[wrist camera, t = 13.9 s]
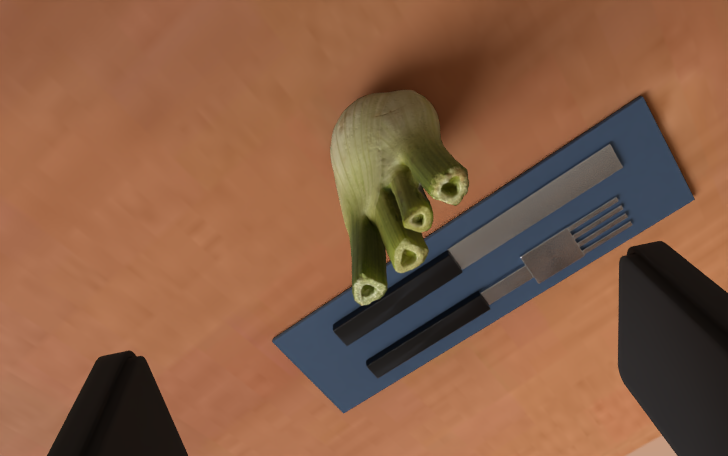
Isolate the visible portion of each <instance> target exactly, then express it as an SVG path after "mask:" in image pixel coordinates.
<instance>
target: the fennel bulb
mask: <svg viewBox="0 0 728 456" xmlns="http://www.w3.org/2000/svg"><path fill="white" fill-rule="evenodd" d="M330 153H331V162H332V167H333V171H334V176H335V182H336V188H337V191H338V196H339V200H340V205H341V209H342V214H343V218H344V222H345V226H346V228H347V231H348V234H349V237H350V245H351V256H352V294H353V297H354V300H355V301H356V302H357V303H358V304H360V305H361V306H363V305H368V304H371V302H373V301H375V300H377V299H381V297H383V296H384V294H385V293H386V291H387V289H388V288H387V287H388V284H387V273H386V269H387V268H386V252H385V250H386V251H387V254H388V256H389V258H390V260H391V262H392V265H393V267H394V269H395V270H396V271H397V272H398V273H404V272H407V271H409V270H413V269H414V268H416V267H418V266H420V264H422V263H423V262H424V261H425V259H426V257H427V255H428V253H429V250H428V247H427V245H426V242H425V241H424V239H423V237H422V233H421V232H424V231H428V230H429V229H430V228H431V226H432V222H433V211H432V207H431V204H430V202H429V200H428V198H427V197H426V195H425V192H424V190H423V188H424V189H425V190H426V191H427V192H428V194H429V195H430V196H432V198H434V199H435V200H441V201H443V202H445V203H448V204H452V205H455V206H456V205H458V204H459V203H460V202H461V200H462V199H463V197H464V195H466V194H467V192H468V187H469V180H468V172H467V169H466V168H465V167H463V166H462V165H461V164H460V163H459V162H458V161H456V160H455V159H454V158H453V156H452V155H451V154H450V153H449V152H448V151H447V150H446V148H445V147H444V146H443V144H442V141H441V136H440V123H439V118H438V115H437V113H436V111H435V109H434V107H433V106H432V104H431V103H430V102H429V101H428V100H427V99H426V98H425V97H424V96H422V95H420V94H418V93H416V92H415V91H413V90H398V91H393V92H385V93H384V92H383V93H373V94H369V95H366V96H363V97H361V98H359V99H357V100H356V101H355V102H354V103H352V104H351V105H350V106H349V107H348V108H347V109H345V111H344V112H343V113H342V114H341V116H340V118H339V120H338V122H337V123H336V125H335V128H334V130H333V134H332V141H331V148H330Z"/></svg>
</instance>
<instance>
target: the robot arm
mask: <svg viewBox="0 0 728 456" xmlns="http://www.w3.org/2000/svg"><path fill="white" fill-rule="evenodd" d="M618 368H619V373H620V376H621V378H622V380H623V382H624V384H625V385H626V387H627V388H628V390H629V391H630V392H631V394H632V395H633V396H634V398H635V399H636V400H637V402H638V403H639V404H640V406H641V407H642V408H643V410H644V411H645V412H646V414H647V415H648V417H649V418H650V419H651V421H652V422H653V423H654V425H655V426H656V427H657V429H658V430H659V431H660V433H661V434H662V435H663V437H664V438H665V439H666V441H667V442H668V443H669V444H670V446H671V448H672V449H673V450H674V451H675V453H676V454H677V455H678V456H728V293H727V292H726V291H724V290H723V289H722V288H721V287H719V286H718V285H717V284H716V283H714V282H713V281H712V280H711V279H709V278H708V277H707V276H706V275H704V274H703V273H702V272H701V271H699V270H698V269H697V268H696V267H694V266H693V265H692V264H691V263H690V262H688V261H687V260H686V259H685V258H683V257H682V256H681V255H680V254H678V253H677V252H676V251H675V250H673V249H672V248H671V247H670V246H668V245H667V244H666V243H664V242H662V241H657V242H652V243H647V244H642V245H638V246H633V247H630V248H629V249H628V252H627V255H626V256H622V257H621V259H620V262H619V327H618ZM47 456H188V454H187V452H186V449H185V447H184V445H183V443H182V440H181V438H180V436H179V434H178V431H177V429H176V427H175V424H174V422H173V420H172V418H171V415H170V413H169V411H168V409H167V406H166V404H165V402H164V399H163V397H162V395H161V393H160V390H159V388H158V386H157V384H156V381H155V379H154V377H153V374H152V372H151V370H150V368H149V365H148V363H147V361H146V359H145V358H144V357H143V356H138V357H136V355H135V354H134V353H133V352H132V351H125V352H120V353H115V354H110V355H106V356H101V357H99V358H98V359H97V361H96V362H95V364H94V366H93V368H92V370H91V372H90V374H89V376H88V378H87V380H86V382H85V384H84V385H83V387H82V389H81V391H80V393H79V395H78V397H77V399H76V401H75V403H74V405H73V407H72V409H71V411H70V412H69V414H68V416H67V418H66V420H65V422H64V424H63V426H62V428H61V430H60V432H59V434H58V436H57V438H56V439H55V441H54V443H53V445H52V447H51V449H50V451H49V453H48V455H47Z"/></svg>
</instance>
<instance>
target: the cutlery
mask: <svg viewBox="0 0 728 456" xmlns="http://www.w3.org/2000/svg"><path fill="white" fill-rule="evenodd" d="M621 168H623V166H622V165H621V163H620V161H619V159H618V157H617V156H616V154H615V152H614V150H613V148H612V146H611V145H610V144H609V143H607V144H606V145H604V146H603V147H601V148H600V149H598V150H596V151H595V152H593V153H592V154H590V155H589V156H587V157H586V158H584V159H583V160H581V161H580V162H578V163H577V164H575V165H573V166H572V167H570V168H569V169H567V170H566V171H564V172H563V173H561V174H560V175H558V176H557V177H555V178H553V179H552V180H550V181H549V182H547V183H546V184H544V185H543V186H541V187H540V188H538V189H537V190H535V191H534V192H532V193H530V194H529V195H527V196H526V197H524V198H523V199H521V200H520V201H518V202H517V203H515V204H514V205H512V206H511V207H509V208H507V209H506V210H504V211H503V212H501V213H500V214H498V215H497V216H495V217H494V218H492V219H491V220H489V221H488V222H486V223H484V224H483V225H481V226H480V227H478V228H477V229H475V230H474V231H472V232H471V233H469V234H468V235H466V236H465V237H463V238H461V239H460V240H458V241H457V242H455V243H454V244H452V245H451V246H449V247H448V248H447V251H445V252H443V253H442V254H440V255H439V256H437V257H436V258H434V259H433V260H431V261H430V262H428V263H427V264H425V265H424V266H422V267H420V268H419V269H417V270H416V271H414V272H413V273H411V274H410V275H408V276H407V277H405V278H404V279H402V280H400V281H399V282H397V283H396V284H394V285H393V286H391V287H390V288H388V289H387V291H386V293H385V294H384V296H383V297H381V299H377V300H375V301H373V302H371V304H368V305H363V306H361V307H359V308H357V309H356V310H354V311H353V312H351V313H350V314H348V315H347V316H345V317H344V318H342V319H341V320H339V321H337V322H336V323H334V324H333V332H334V333H335V334H336V335H337V336H338V337H339V338H340V339H341V341H342V342H343V343H344V344H345V345H346V346H348V345H350V344H352V343H353V342H355V341H356V340H358V339H359V338H361V337H363V336H364V335H366V334H367V333H369V332H370V331H372V330H374V329H375V328H377V327H378V326H380V325H381V324H383V323H385V322H386V321H388V320H389V319H391V318H392V317H394V316H396V315H397V314H399V313H400V312H402V311H403V310H405V309H407V308H408V307H410V306H411V305H413V304H414V303H416V302H418V301H419V300H421V299H422V298H424V297H425V296H427V295H429V294H430V293H432V292H433V291H435V290H436V289H438V288H439V287H441V286H443V285H444V284H446V283H447V282H449V281H450V280H452V279H454V278H455V277H457V276H458V275H460V274H461V273H462V270H463V269H465V268H466V267H468V266H469V265H471V264H473V263H474V262H476V261H477V260H479V259H480V258H482V257H484V256H485V255H487V254H488V253H490V252H491V251H493V250H494V249H496V248H498V247H499V246H501V245H502V244H504V243H505V242H507V241H509V240H510V239H512V238H513V237H515V236H516V235H518V234H520V233H521V232H523V231H524V230H526V229H527V228H529V227H530V226H532V225H534V224H535V223H537V222H538V221H540V220H541V219H543V218H545V217H546V216H548V215H549V214H551V213H552V212H554V211H556V210H557V209H559V208H560V207H562V206H563V205H565V204H567V203H568V202H570V201H571V200H573V199H574V198H576V197H577V196H579V195H581V194H582V193H584V192H585V191H587V190H588V189H590V188H592V187H593V186H595V185H596V184H598V183H599V182H601V181H603V180H604V179H606V178H607V177H609V176H610V175H612V174H613V173H615V172H617V171H618V170H620V169H621ZM618 201H619V200H618V199H617V197H616V196H614V197H612V198H611V199H609V200H608V201H606V202H605V203H603V204H601V205H600V206H598V207H597V208H595V209H593V210H592V211H590V212H589V213H587V214H585V215H584V216H582V217H581V218H579V219H578V220H576V221H574V222H573V223H571V224H570V225H568V226H567V227H566V226H565V227H563V228H562V229H560V230H559V231H557V232H555V233H554V234H552V235H551V236H549V237H548V238H546V239H544V240H543V241H541V242H540V243H538V244H536V245H535V246H533V247H532V248H530V249H529V250H527V251H525V252H524V253H522V254H521V255H519V256H520V258H521V259H522V261H523V262H524V263H523V264H522V265H520V266H519V267H517V268H515V269H514V270H512V271H511V272H509V273H507V274H506V275H504V276H503V277H501V278H499V279H498V280H496V281H495V282H493V283H491V284H490V285H488V286H487V287H485V288H483V289H482V290H480V291H476V292H475V293H473V294H472V295H470V296H468V297H467V298H465V299H464V300H462V301H460V302H459V303H457V304H456V305H454V306H452V307H451V308H449V309H448V310H446V311H444V312H443V313H441V314H440V315H438V316H436V317H435V318H433V319H432V320H430V321H428V322H427V323H425V324H424V325H422V326H420V327H419V328H417V329H416V330H414V331H412V332H411V333H409V334H408V335H406V336H404V337H403V338H401V339H400V340H398V341H396V342H395V343H393V344H392V345H390V346H389V347H387V348H385V349H384V350H382V351H381V352H379V353H377V354H376V355H374V356H373V357H371V358H369V359H368V360H366V366H367V368H368V369H369V370H370V371H371V372H372V373H373V374H374V375H375V376H376V377H377V378H380V377H381V376H383V375H385V374H386V373H388V372H389V371H391V370H393V369H394V368H396V367H398V366H399V365H401V364H402V363H404V362H406V361H407V360H409V359H411V358H412V357H414V356H415V355H417V354H419V353H420V352H422V351H424V350H425V349H427V348H428V347H430V346H432V345H433V344H435V343H437V342H438V341H440V340H441V339H443V338H445V337H446V336H448V335H450V334H451V333H453V332H454V331H456V330H458V329H459V328H461V327H463V326H464V325H466V324H467V323H469V322H471V321H472V320H474V319H476V318H477V317H479V316H480V315H482V314H484V313H485V312H487V311H489V310H490V306H489V305H490V304H492V303H493V302H495V301H497V300H498V299H500V298H501V297H503V296H505V295H506V294H508V293H510V292H511V291H513V290H514V289H516V288H518V287H519V286H521V285H522V284H524V283H526V282H527V281H529V280H531V279H532V278H535V280H536V281H537V283H538V284H540V283H541V282H543V281H545V280H546V279H548V278H550V277H551V276H553V275H554V274H556V273H558V272H559V271H561V270H563V269H564V268H566V267H567V266H569V265H571V264H572V263H574V262H576V261H577V260H579V259H580V258H582V257H584V256H585V254H586V253H588V252H590V251H591V250H593V249H595V248H596V247H598V246H600V245H601V244H603V243H604V242H606V241H608V240H609V239H611V238H613V237H614V236H616V235H617V234H619V233H621V232H622V231H624V230H626V229H627V228H629V227H630V226H632V223H631V221H629V220H628V221H627V222H625V223H623V224H622V225H620V226H618V227H617V228H615V229H614V230H612V231H610V232H609V233H607V234H605V235H604V236H602V237H601V238H599V239H597V240H596V241H594V242H592V243H591V244H589V245H588V246H586V247H584V248H583V249H581V248H580V247H581V246H582V245H584V244H586V243H587V242H589V241H590V240H592V239H594V238H595V237H597V236H599V235H600V234H602V233H603V232H605V231H607V230H608V229H610V228H612V227H613V226H615V225H616V224H618V223H620V222H621V221H623V220H624V219H626V218H628V216H627V214H626V213H625V212H624V213H622V214H620V215H619V216H617V217H616V218H614V219H612V220H611V221H609V222H608V223H606V224H604V225H603V226H601V227H600V228H598V229H596V230H595V231H593V232H591V233H590V234H588V235H587V236H585V237H583V238H582V239H580V240H579V241H577V242H576V240H575V239H576V238H578V237H580V236H581V235H583V234H584V233H586V232H588V231H589V230H591V229H593V228H594V227H596V226H597V225H599V224H601V223H602V222H604V221H605V220H607V219H609V218H610V217H612V216H613V215H615V214H617V213H618V212H620V211H621V210H623V207H622V206H621V205H620V204H619V205H617V206H616V207H614V208H613V209H611V210H609V211H608V212H606V213H605V214H603V215H601V216H600V217H598V218H597V219H595V220H593V221H592V222H590V223H589V224H587V225H585V226H584V227H582V228H581V229H579V230H577V231H576V232H574V233H573V234H571V232H570V231H572V230H573V229H575V228H577V227H578V226H580V225H581V224H583V223H585V222H586V221H588V220H589V219H591V218H593V217H594V216H596V215H597V214H599V213H601V212H602V211H604V210H605V209H607V208H609V207H610V206H612V205H613V204H615V203H617V202H618Z"/></svg>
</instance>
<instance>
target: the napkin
mask: <svg viewBox="0 0 728 456" xmlns="http://www.w3.org/2000/svg"><path fill="white" fill-rule="evenodd" d="M607 143H609V144H610V145H611V146H612V148H613V150H614V152H615V154H616V156H617V157H618V159H619V161H620V163H621V165H622V166H623V168H621V169H620V170H618V171H617V172H615V173H613V174H612V175H610V176H609V177H607V178H606V179H604V180H603V181H601V182H599V183H598V184H596V185H595V186H593V187H592V188H590V189H588V190H587V191H585V192H584V193H582V194H581V195H579V196H577V197H576V198H574V199H573V200H571V201H570V202H568V203H567V204H565V205H563V206H562V207H560V208H559V209H557V210H556V211H554V212H552V213H551V214H549V215H548V216H546V217H545V218H543V219H541V220H540V221H538V222H537V223H535V224H534V225H532V226H530V227H529V228H527V229H526V230H524V231H523V232H521V233H520V234H518V235H516V236H515V237H513V238H512V239H510V240H509V241H507V242H505V243H504V244H502V245H501V246H499V247H498V248H496V249H494V250H493V251H491V252H490V253H488V254H487V255H485V256H484V257H482V258H480V259H479V260H477V261H476V262H474V263H473V264H471V265H469V266H468V267H466V268H465V269H463V270H462V273H461V274H460V275H458V276H457V277H455V278H454V279H452V280H450V281H449V282H447V283H446V284H444V285H443V286H441V287H439V288H438V289H436V290H435V291H433V292H432V293H430V294H429V295H427V296H425V297H424V298H422V299H421V300H419V301H418V302H416V303H414V304H413V305H411V306H410V307H408V308H407V309H405V310H403V311H402V312H400V313H399V314H397V315H396V316H394V317H392V318H391V319H389V320H388V321H386V322H385V323H383V324H381V325H380V326H378V327H377V328H375V329H374V330H372V331H370V332H369V333H367V334H366V335H364V336H363V337H361V338H359V339H358V340H356V341H355V342H353V343H352V344H350V345H348V346H346V345H345V344H344V343H343V342H342V341H341V339H340V338H339V337H338V336H337V335H336V334H335V333H334V332H333V324H334V323H336V322H337V321H339V320H341V319H342V318H344V317H345V316H347V315H348V314H350V313H351V312H353V311H354V310H356V309H357V308H359V307H361V305H360V304H358V303H357V302H356V301H355V300H354V297H353V294H352V287H351V288H349V289H347V290H346V291H344V292H343V293H341V294H340V295H338V296H337V297H335V298H334V299H332V300H331V301H329V302H328V303H326V304H325V305H323V306H322V307H320V308H319V309H317V310H316V311H314V312H313V313H311V314H310V315H308V316H307V317H305V318H304V319H302V320H301V321H299V322H298V323H296V324H295V325H293V326H292V327H290V328H289V329H287V330H286V331H284V332H283V333H281V334H279V335H278V336H276V337H275V338H273V341H272V342H273V343H274V344H275V345H276V346H277V347H278V348H279V349H280V350H281V351H282V352H283V353H284V354H285V355H286V356H287V357H288V358H289V359H290V360H291V361H292V362H293V363H294V364H295V365H296V366H297V367H298V368H299V369H300V370H301V371H302V372H303V373H304V374H305V375H306V376H307V377H308V378H309V379H310V380H311V381H312V382H313V383H314V384H315V385H316V386H317V387H318V388H319V389H320V390H321V391H322V392H323V393H324V394H325V395H326V396H327V397H328V398H329V399H330V400H331V401H332V402H333V403H334V404H335V405H336V406H337V407H338V408H339V409H340V410H341V411H342V412H343V413H345V412H347V411H348V410H350V409H352V408H353V407H355V406H357V405H358V404H360V403H361V402H363V401H365V400H366V399H368V398H370V397H371V396H373V395H375V394H376V393H378V392H380V391H381V390H383V389H384V388H386V387H388V386H389V385H391V384H393V383H394V382H396V381H398V380H399V379H401V378H403V377H404V376H406V375H407V374H409V373H411V372H412V371H414V370H416V369H417V368H419V367H421V366H422V365H424V364H426V363H427V362H429V361H430V360H432V359H434V358H435V357H437V356H439V355H440V354H442V353H444V352H445V351H447V350H448V349H450V348H452V347H453V346H455V345H457V344H458V343H460V342H462V341H463V340H465V339H467V338H468V337H470V336H471V335H473V334H475V333H476V332H478V331H480V330H481V329H483V328H485V327H486V326H488V325H490V324H491V323H493V322H494V321H496V320H498V319H499V318H501V317H503V316H504V315H506V314H508V313H509V312H511V311H512V310H514V309H516V308H517V307H519V306H521V305H522V304H524V303H526V302H527V301H529V300H531V299H532V298H534V297H535V296H537V295H539V294H540V293H542V292H544V291H545V290H547V289H549V288H550V287H552V286H554V285H555V284H557V283H558V282H560V281H562V280H563V279H565V278H567V277H568V276H570V275H572V274H573V273H575V272H577V271H578V270H580V269H581V268H583V267H585V266H586V265H588V264H590V263H591V262H593V261H595V260H596V259H598V258H599V257H601V256H603V255H604V254H606V253H608V252H609V251H611V250H613V249H614V248H616V247H618V246H619V245H621V244H622V243H624V242H626V241H627V240H629V239H631V238H632V237H634V236H636V235H637V234H639V233H641V232H642V231H644V230H645V229H647V228H649V227H650V226H652V225H654V224H655V223H657V222H659V221H660V220H662V219H663V218H665V217H667V216H668V215H670V214H672V213H673V212H675V211H677V210H678V209H680V208H682V207H683V206H685V205H686V204H688V203H690V202H691V201H693V200H695V199H694V197H693V195H692V193H691V191H690V189H689V187H688V185H687V183H686V181H685V179H684V177H683V175H682V173H681V171H680V169H679V167H678V165H677V163H676V161H675V159H674V157H673V155H672V153H671V151H670V149H669V147H668V145H667V143H666V141H665V139H664V137H663V135H662V133H661V131H660V129H659V127H658V125H657V123H656V121H655V119H654V117H653V115H652V113H651V111H650V109H649V107H648V105H647V104H646V102H645V100H644V98H643V97H642V96H639V97H638V98H636V99H635V100H633V101H632V102H630V103H629V104H627V105H626V106H624V107H622V108H621V109H619V110H618V111H616V112H615V113H613V114H612V115H610V116H609V117H607V118H606V119H604V120H603V121H601V122H600V123H598V124H597V125H595V126H594V127H592V128H591V129H589V130H588V131H586V132H585V133H583V134H582V135H580V136H579V137H577V138H576V139H574V140H573V141H571V142H570V143H568V144H567V145H565V146H564V147H562V148H561V149H559V150H558V151H556V152H554V153H553V154H551V155H550V156H548V157H547V158H545V159H544V160H542V161H541V162H539V163H538V164H536V165H535V166H533V167H532V168H530V169H529V170H527V171H526V172H524V173H523V174H521V175H520V176H518V177H517V178H515V179H514V180H512V181H511V182H509V183H508V184H506V185H505V186H503V187H502V188H500V189H499V190H497V191H496V192H494V193H493V194H491V195H490V196H488V197H487V198H485V199H483V200H482V201H480V202H479V203H477V204H476V205H474V206H473V207H471V208H470V209H468V210H467V211H465V212H464V213H462V214H461V215H459V216H458V217H456V218H455V219H453V220H452V221H450V222H449V223H447V224H446V225H444V226H443V227H441V228H440V229H438V230H437V231H435V232H434V233H432V234H431V235H429V236H428V237H426V238H425V239H424V241H425V242H426V245H427V247H428V250H429V253H428V255H427V257H426V259H425V261H424V262H423V263H422V264H420V266H418V267H416V268H414V269H413V270H409V271H407V272H404V273H398V272H397V271H396V270H395V269H394V267H393V265H392V262H391V261H390V262H388V263H387V264H386V268H387V269H386V273H387V284H388V287H387V288H390V287H391V286H393V285H394V284H396V283H397V282H399V281H400V280H402V279H404V278H405V277H407V276H408V275H410V274H411V273H413V272H414V271H416V270H417V269H419V268H420V267H422V266H424V265H425V264H427V263H428V262H430V261H431V260H433V259H434V258H436V257H437V256H439V255H440V254H442V253H443V252H445V251H447V248H448V247H449V246H451V245H452V244H454V243H455V242H457V241H458V240H460V239H461V238H463V237H465V236H466V235H468V234H469V233H471V232H472V231H474V230H475V229H477V228H478V227H480V226H481V225H483V224H484V223H486V222H488V221H489V220H491V219H492V218H494V217H495V216H497V215H498V214H500V213H501V212H503V211H504V210H506V209H507V208H509V207H511V206H512V205H514V204H515V203H517V202H518V201H520V200H521V199H523V198H524V197H526V196H527V195H529V194H530V193H532V192H534V191H535V190H537V189H538V188H540V187H541V186H543V185H544V184H546V183H547V182H549V181H550V180H552V179H553V178H555V177H557V176H558V175H560V174H561V173H563V172H564V171H566V170H567V169H569V168H570V167H572V166H573V165H575V164H577V163H578V162H580V161H581V160H583V159H584V158H586V157H587V156H589V155H590V154H592V153H593V152H595V151H596V150H598V149H600V148H601V147H603V146H604V145H606V144H607ZM614 196H616V197H617V199H618V200H619V201H618V202H617V203H615V204H613V205H612V206H610V207H609V208H607V209H605V210H604V211H602V212H601V213H599V214H597V215H596V216H594V217H593V218H591V219H589V220H588V221H586V222H585V223H583V224H581V225H580V226H578V227H577V228H575V229H573V230H572V231H570V232H571V234H573V233H574V232H576V231H577V230H579V229H581V228H582V227H584V226H585V225H587V224H589V223H590V222H592V221H593V220H595V219H597V218H598V217H600V216H601V215H603V214H605V213H606V212H608V211H609V210H611V209H613V208H614V207H616V206H617V205H619V204H620V205H621V206H622V207H623V210H621V211H620V212H618V213H617V214H615V215H613V216H612V217H610V218H609V219H607V220H605V221H604V222H602V223H601V224H599V225H597V226H596V227H594V228H593V229H591V230H589V231H588V232H586V233H584V234H583V235H581V236H580V237H578V238H576V239H575V240H576V242H577V241H579V240H580V239H582V238H583V237H585V236H587V235H588V234H590V233H591V232H593V231H595V230H596V229H598V228H600V227H601V226H603V225H604V224H606V223H608V222H609V221H611V220H612V219H614V218H616V217H617V216H619V215H620V214H622V213H624V212H625V213H626V214H627V216H628V218H626V219H624V220H623V221H621V222H620V223H618V224H616V225H615V226H613V227H612V228H610V229H608V230H607V231H605V232H603V233H602V234H600V235H599V236H597V237H595V238H594V239H592V240H590V241H589V242H587V243H586V244H584V245H582V246H581V247H580V248H581V249H583V248H584V247H586V246H588V245H589V244H591V243H592V242H594V241H596V240H597V239H599V238H601V237H602V236H604V235H605V234H607V233H609V232H610V231H612V230H614V229H615V228H617V227H618V226H620V225H622V224H623V223H625V222H627V221H628V220H629V221H631V223H632V226H630V227H629V228H627V229H626V230H624V231H622V232H621V233H619V234H617V235H616V236H614V237H613V238H611V239H609V240H608V241H606V242H604V243H603V244H601V245H600V246H598V247H596V248H595V249H593V250H591V251H590V252H588V253H586V254H585V256H584V257H582V258H580V259H579V260H577V261H576V262H574V263H572V264H571V265H569V266H567V267H566V268H564V269H563V270H561V271H559V272H558V273H556V274H554V275H553V276H551V277H550V278H548V279H546V280H545V281H543V282H541V283H540V284H538V283H537V281H536V280H535V278H532V279H531V280H529V281H527V282H526V283H524V284H522V285H521V286H519V287H518V288H516V289H514V290H513V291H511V292H510V293H508V294H506V295H505V296H503V297H501V298H500V299H498V300H497V301H495V302H493V303H492V304H490V305H489V306H490V310H489V311H487V312H485V313H484V314H482V315H480V316H479V317H477V318H476V319H474V320H472V321H471V322H469V323H467V324H466V325H464V326H463V327H461V328H459V329H458V330H456V331H454V332H453V333H451V334H450V335H448V336H446V337H445V338H443V339H441V340H440V341H438V342H437V343H435V344H433V345H432V346H430V347H428V348H427V349H425V350H424V351H422V352H420V353H419V354H417V355H415V356H414V357H412V358H411V359H409V360H407V361H406V362H404V363H402V364H401V365H399V366H398V367H396V368H394V369H393V370H391V371H389V372H388V373H386V374H385V375H383V376H381V377H380V378H377V377H376V376H375V375H374V374H373V373H372V372H371V371H370V370H369V369H368V368H367V366H366V360H368V359H369V358H371V357H373V356H374V355H376V354H377V353H379V352H381V351H382V350H384V349H385V348H387V347H389V346H390V345H392V344H393V343H395V342H396V341H398V340H400V339H401V338H403V337H404V336H406V335H408V334H409V333H411V332H412V331H414V330H416V329H417V328H419V327H420V326H422V325H424V324H425V323H427V322H428V321H430V320H432V319H433V318H435V317H436V316H438V315H440V314H441V313H443V312H444V311H446V310H448V309H449V308H451V307H452V306H454V305H456V304H457V303H459V302H460V301H462V300H464V299H465V298H467V297H468V296H470V295H472V294H473V293H475V292H476V291H480V290H482V289H483V288H485V287H487V286H488V285H490V284H491V283H493V282H495V281H496V280H498V279H499V278H501V277H503V276H504V275H506V274H507V273H509V272H511V271H512V270H514V269H515V268H517V267H519V266H520V265H522V264H523V263H524V262H523V261H522V259H521V258H520V256H519V255H521V254H522V253H524V252H525V251H527V250H529V249H530V248H532V247H533V246H535V245H536V244H538V243H540V242H541V241H543V240H544V239H546V238H548V237H549V236H551V235H552V234H554V233H555V232H557V231H559V230H560V229H562V228H563V227H565V226H566V227H567V226H568V225H570V224H571V223H573V222H574V221H576V220H578V219H579V218H581V217H582V216H584V215H585V214H587V213H589V212H590V211H592V210H593V209H595V208H597V207H598V206H600V205H601V204H603V203H605V202H606V201H608V200H609V199H611V198H612V197H614Z"/></svg>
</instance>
